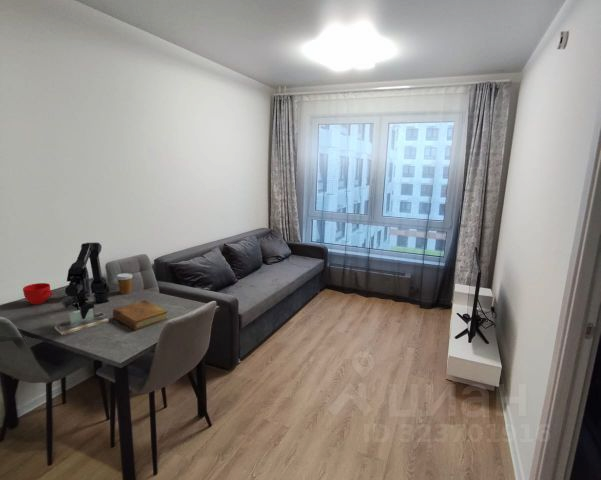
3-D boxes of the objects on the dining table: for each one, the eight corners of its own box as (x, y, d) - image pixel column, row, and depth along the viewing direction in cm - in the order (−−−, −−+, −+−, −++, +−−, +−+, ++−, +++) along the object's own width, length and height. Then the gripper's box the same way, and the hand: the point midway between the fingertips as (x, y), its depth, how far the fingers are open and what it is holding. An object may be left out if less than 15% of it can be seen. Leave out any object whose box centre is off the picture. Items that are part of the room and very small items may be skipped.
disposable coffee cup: (120, 289, 237) (119, 272, 235) (135, 289, 239) (134, 272, 236) (115, 294, 228) (113, 277, 226) (130, 294, 229) (129, 277, 227)
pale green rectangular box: (91, 319, 190) (90, 307, 188) (93, 321, 188) (92, 308, 187) (70, 325, 182) (69, 312, 181) (72, 327, 180) (71, 314, 179)
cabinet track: (100, 315, 197) (100, 310, 196) (108, 321, 191) (108, 316, 190) (55, 328, 180) (54, 323, 179) (62, 334, 174) (61, 329, 173)
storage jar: (73, 294, 225) (71, 272, 222) (91, 293, 229) (89, 271, 226) (71, 300, 216) (68, 276, 213) (89, 298, 221) (87, 275, 218)
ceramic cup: (43, 308, 203) (41, 292, 201) (18, 305, 206) (16, 288, 204) (62, 300, 215) (60, 285, 213) (39, 297, 218) (37, 282, 216)
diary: (113, 319, 195) (112, 309, 194) (145, 309, 209) (144, 300, 208) (135, 331, 181) (134, 321, 180) (167, 320, 196) (167, 310, 195)
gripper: (55, 288, 181) (57, 317, 184) (68, 298, 169) (71, 328, 173) (79, 283, 189) (81, 310, 193) (93, 292, 178) (96, 321, 181)
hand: (82, 317), depth 185 cm, fingers open, 4 cm apart
